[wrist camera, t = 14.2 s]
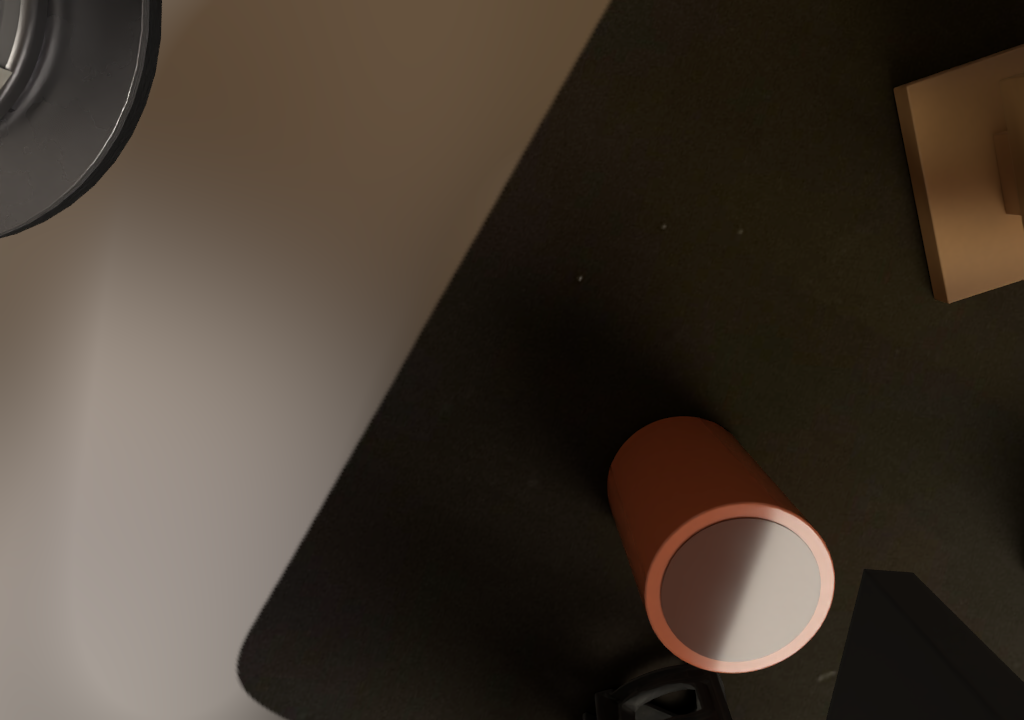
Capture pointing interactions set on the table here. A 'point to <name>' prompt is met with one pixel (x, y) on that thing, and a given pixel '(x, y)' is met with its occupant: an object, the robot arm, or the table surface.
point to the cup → (717, 548)
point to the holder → (629, 711)
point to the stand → (968, 171)
